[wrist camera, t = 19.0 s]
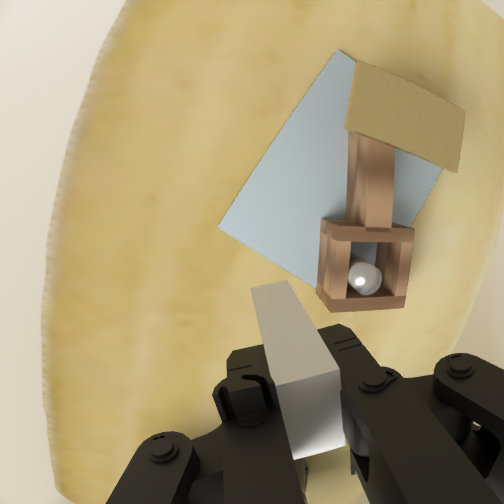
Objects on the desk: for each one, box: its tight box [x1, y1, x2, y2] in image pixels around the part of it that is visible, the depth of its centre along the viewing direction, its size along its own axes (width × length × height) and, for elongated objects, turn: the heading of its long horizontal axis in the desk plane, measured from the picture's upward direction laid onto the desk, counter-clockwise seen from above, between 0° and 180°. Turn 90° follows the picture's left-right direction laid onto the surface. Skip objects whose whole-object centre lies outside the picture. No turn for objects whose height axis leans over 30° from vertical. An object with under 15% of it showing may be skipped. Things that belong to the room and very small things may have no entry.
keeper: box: [343, 60, 465, 173], centre depth 31 cm, size 7×13×10 cm, turn 77°
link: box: [316, 131, 414, 313], centre depth 34 cm, size 21×9×6 cm, turn 179°
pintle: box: [347, 251, 382, 295], centre depth 35 cm, size 3×3×8 cm
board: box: [217, 50, 443, 312], centre depth 36 cm, size 26×20×1 cm
